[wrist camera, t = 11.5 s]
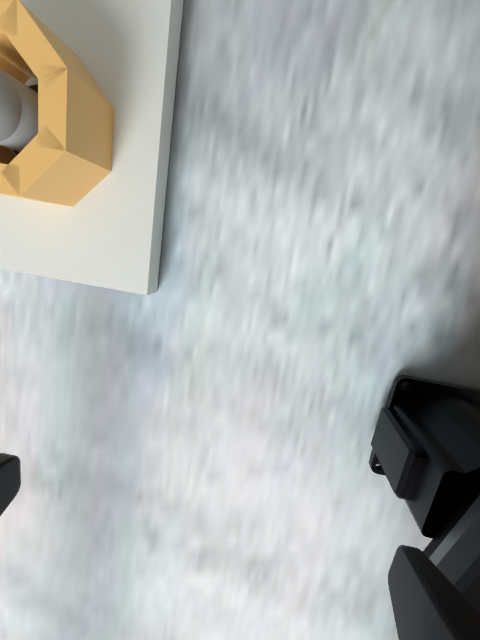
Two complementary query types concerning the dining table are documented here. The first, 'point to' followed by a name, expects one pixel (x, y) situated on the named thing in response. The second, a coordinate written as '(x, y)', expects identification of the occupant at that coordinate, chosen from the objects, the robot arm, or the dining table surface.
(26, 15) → the collar
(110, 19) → the shaft board
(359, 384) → the dining table surface
